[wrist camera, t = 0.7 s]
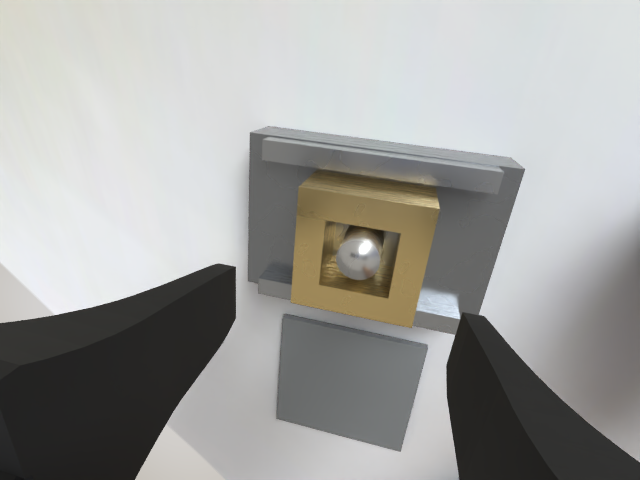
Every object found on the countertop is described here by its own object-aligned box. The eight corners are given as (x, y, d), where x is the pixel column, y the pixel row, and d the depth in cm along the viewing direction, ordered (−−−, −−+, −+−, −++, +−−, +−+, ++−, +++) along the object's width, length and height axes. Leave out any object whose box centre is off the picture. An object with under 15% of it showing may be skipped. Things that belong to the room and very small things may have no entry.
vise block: (511, 157, 18) (548, 188, 13) (467, 300, 21) (484, 369, 16) (268, 126, 20) (219, 142, 15) (264, 261, 23) (223, 311, 18)
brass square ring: (435, 187, 17) (439, 208, 14) (412, 292, 19) (411, 328, 16) (316, 170, 17) (298, 186, 15) (307, 271, 20) (290, 302, 17)
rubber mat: (427, 344, 23) (427, 349, 22) (400, 446, 26) (400, 451, 26) (284, 313, 24) (282, 317, 24) (278, 414, 28) (276, 418, 28)
